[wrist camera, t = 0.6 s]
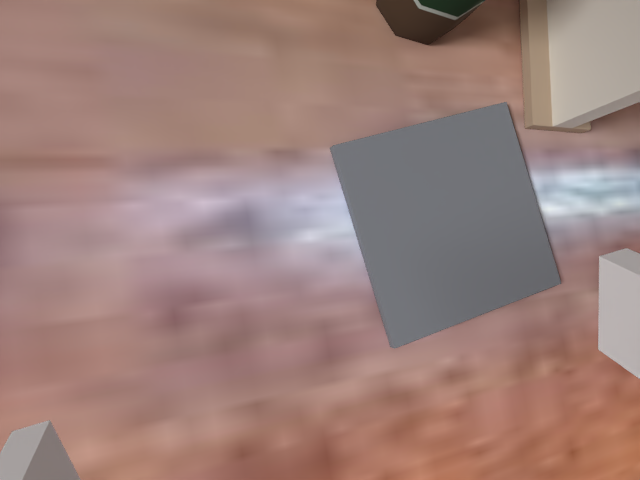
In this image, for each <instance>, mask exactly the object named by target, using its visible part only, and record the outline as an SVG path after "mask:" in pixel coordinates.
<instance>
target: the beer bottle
mask: <svg viewBox="0 0 640 480" xmlns="http://www.w3.org/2000/svg"><path fill="white" fill-rule="evenodd" d="M484 1H485V0H377V2H376V6H377V7H378V9H379V11H380V12H381V14H382V15H383V17H384V18H385V20H386V21H387V23H388V25H389V26H390V28H391V29H392V31H393V32H394V34H395V35H397V36H400V37H403V38H406V39H410V40H413V41H416V42H420V43H423V44H430V43H431V42H433V41H435V40H436V39H438V38H439V37H441V36H442V35H444V34H445V33H447V32H449V31H450V30H452V29H453V28H455V27H456V26H457V25H458V24H460V23H461V22H462V21H463V20H464V19H466V18H467V17H468V16H469V15H470V14H471V13H472V12H473V11H474V10H475V9H476V8H478V7H479V6H480V5H481V4H482V3H483V2H484Z"/></svg>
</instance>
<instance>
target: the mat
mask: <svg viewBox="0 0 640 480" xmlns="http://www.w3.org/2000/svg"><path fill="white" fill-rule="evenodd" d="M330 150H331V154H332V157H333V160H334V164H335V167H336V170H337V173H338V177H339V180H340V183H341V186H342V190H343V193H344V196H345V200H346V203H347V206H348V209H349V213H350V216H351V219H352V222H353V226H354V229H355V232H356V236H357V239H358V242H359V245H360V249H361V252H362V255H363V258H364V262H365V265H366V268H367V272H368V275H369V278H370V281H371V285H372V288H373V291H374V295H375V298H376V301H377V304H378V308H379V311H380V314H381V317H382V321H383V324H384V327H385V331H386V334H387V337H388V340H389V344H390V347H392V348H397V347H400V346H402V345H405V344H407V343H410V342H413V341H415V340H418V339H420V338H423V337H425V336H428V335H431V334H433V333H436V332H438V331H441V330H443V329H446V328H448V327H451V326H454V325H456V324H459V323H461V322H464V321H466V320H469V319H472V318H474V317H477V316H479V315H482V314H484V313H487V312H489V311H492V310H495V309H497V308H500V307H502V306H505V305H507V304H510V303H512V302H515V301H518V300H520V299H523V298H525V297H528V296H530V295H533V294H536V293H538V292H541V291H543V290H546V289H548V288H551V287H553V286H556V285H559V284H561V281H560V277H559V274H558V271H557V267H556V264H555V261H554V258H553V254H552V251H551V248H550V244H549V241H548V238H547V234H546V231H545V228H544V225H543V221H542V218H541V215H540V211H539V208H538V205H537V202H536V198H535V195H534V192H533V188H532V185H531V182H530V178H529V175H528V172H527V169H526V165H525V162H524V159H523V155H522V152H521V149H520V145H519V142H518V139H517V136H516V132H515V129H514V126H513V122H512V119H511V116H510V113H509V109H508V106H507V103H506V102H504V103H500V104H496V105H492V106H488V107H484V108H480V109H476V110H472V111H468V112H464V113H460V114H456V115H452V116H449V117H445V118H441V119H437V120H433V121H429V122H425V123H421V124H417V125H413V126H409V127H405V128H401V129H397V130H393V131H389V132H385V133H381V134H377V135H373V136H369V137H365V138H361V139H357V140H353V141H349V142H345V143H341V144H337V145H334V146H332V147H331V148H330Z"/></svg>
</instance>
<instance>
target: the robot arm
mask: <svg viewBox="0 0 640 480" xmlns="http://www.w3.org/2000/svg"><path fill="white" fill-rule="evenodd" d="M598 350H600V351H601V352H603V353H604V354H605V355H607V356H608V357H610V358H611V359H612V360H614V361H615V362H617V363H618V364H619V365H621V366H622V367H624V368H625V369H626V370H628V371H629V372H631V373H632V374H633V375H635V376H636V377H638V378H639V379H640V254H639V253H637V252H635V251H632V250H630V249H627V248H625V249H622V250H619V251H615V252H612V253H609V254H605V255H602V256H599V334H598ZM0 480H80V478H79V476H78V474H77V472H76V470H75V468H74V466H73V464H72V462H71V460H70V458H69V456H68V454H67V452H66V451H65V449H64V447H63V445H62V443H61V441H60V439H59V437H58V435H57V433H56V431H55V429H54V427H53V425H52V423H51V421H50V420H49V421H45V422H42V423H39V424H35V425H32V426H29V427H25V428H22V429H19V430H15V431H12V433H11V435H10V436H9V438H8V440H7V442H6V444H5V445H4V447H3V449H2V451H1V453H0Z"/></svg>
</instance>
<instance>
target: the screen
mask: <svg viewBox="0 0 640 480" xmlns="http://www.w3.org/2000/svg"><path fill="white" fill-rule="evenodd" d="M519 3H520V26H521V50H522V73H523V96H524V120H525V129H537V130H550V131H562V132H574V133H584V132H586V131H589V130H591V124H590V121H592V120H594V119H597V118H600V117H602V116H605V115H607V114H610V113H612V112H615V111H617V110H620V109H623V108H625V107H628V106H630V105H633V104H635V103H638V102H640V0H519Z"/></svg>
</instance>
